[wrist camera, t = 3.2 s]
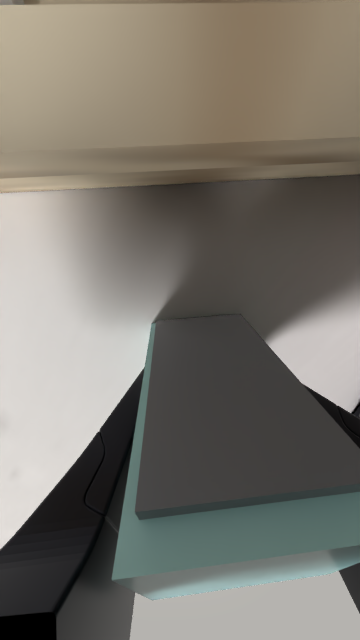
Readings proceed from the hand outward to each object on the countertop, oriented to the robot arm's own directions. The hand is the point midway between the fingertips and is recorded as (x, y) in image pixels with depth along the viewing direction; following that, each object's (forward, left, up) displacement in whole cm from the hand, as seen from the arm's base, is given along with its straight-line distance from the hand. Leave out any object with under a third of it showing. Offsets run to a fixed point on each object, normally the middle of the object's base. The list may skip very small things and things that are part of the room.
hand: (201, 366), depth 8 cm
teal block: (0, 0, -1) cm, 1 cm away
